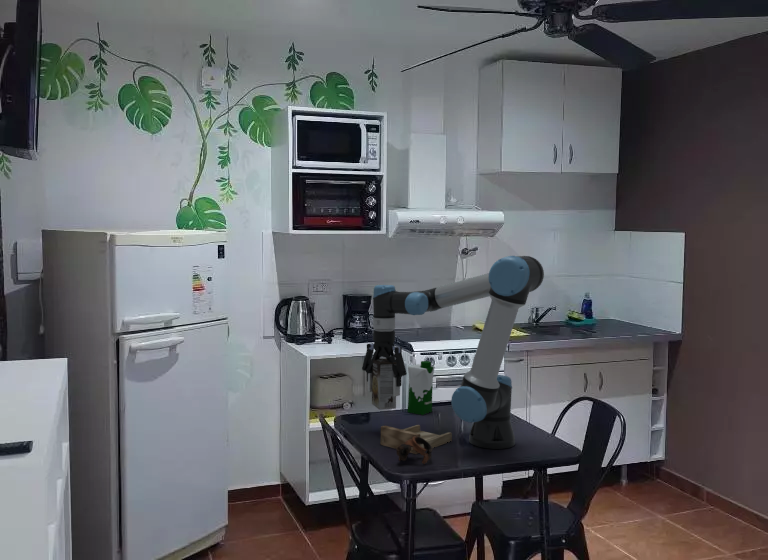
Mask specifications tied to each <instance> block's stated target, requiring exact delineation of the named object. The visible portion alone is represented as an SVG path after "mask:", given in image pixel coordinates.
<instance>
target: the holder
mask: <svg viewBox="0 0 768 560" xmlns="http://www.w3.org/2000/svg"><path fill="white" fill-rule="evenodd" d="M414 436H416V437H420V438H423V439H424V440H426V441H427V442H428V443H429V444H430V445H431V447H432V449H434V447H435V448H438V447H440V446H442V445H445V444H448V443H450V441H451V442H452V441H453V439H452V438H453V437H452V436H453V433H452V432H450V431H447V432H445V433H442V434H437V433H433V432H429V431H428V432H427V431H424V430H421V425H420V424H416V425H413V426H412V425H411V426H409V427H406V428H403V429H401V428H397V427H392V426H390V425H389V426H388V425H382V426H380V443H379V444H380V446H384V447H388V448H391V449H395V450H397V447H398V446H399V445H401V444H404V443H405V442H406V441H407V440H410V439H412V438H413V437H414ZM447 442H448V443H447ZM418 445H420V446H421V447H422V448H424V445H423V444H418ZM409 454H413V455H418V454H419V453H418V452H416V451H415V450H413V447H411V451H410V453H409Z"/></svg>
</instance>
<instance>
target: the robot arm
mask: <svg viewBox="0 0 768 560" xmlns="http://www.w3.org/2000/svg"><path fill="white" fill-rule="evenodd" d="M544 271H545V270H544V268H543V265H542V264H541V262H540V261H539V260H538V259H536V258H535V257H532V256H530V255H517V256H515V255H507V256H504V257H501V258H499V259H498V260H496V261H495V262H494V263H493V264H492V266H491V267H490V269H489V272H488V273H484V274H481V275H477V276H472V277H471V278H467V279H466V278H465V279H463V280H459V281H455V282H453V283H452V282H451V283H447V284H444V285H440V286H437V287H433V288H429V289H425V290H416V291H415V290H414V291H398V290H397V291H396V287H395V285H393V284H377V285H375V286H374V287H373V294H372V295H373V296H372V302H373V304H372V305H373V318H372V319H373V320H372V325H373V326H372V327H373V329H374V330H373V331H372V339H373V343H367V344H366V351H365V356H364V359H363V364H362V367H361V370H362V371H365V373H366V382H367V387H368V388H367V392H368V393H372V365H373V360H376V359H379V358H384V359H385V358H386V359H387V360H388V361H389V362H391V363H392V370H393V372H394V374H395V377H393V396H394V397H395V396H396V397H399V396H401V387H402V383H403V382H402V377H404V376H407V368H406V365H405V362H404V361H405V360H404V358H403V354H402V352H403V351H402V350H403V347H402V346H396V345H395V344H394V343H395V340H396V331H395V329H396V315H397V314H400V315H411V316H422V315H425V313H426V312H431V313H432V312H436V311H438V310H441V309H444V308H448V307H451V306H456V305H459V304H464V303H467V302H472V301H476V300H480V299H484V298H487V297H488V298H489V297H490V299H491V302H490V305H489V308H488V313H487V315H486V318H485V322H484V325H483V328H482V331H481V334H480V338H479V341H478V345H477V348H476V351H475V355H474V357H473V361H472V364H471V368H470V370H469V371H467V372H465V373H464V375H463V378H462V380H461V384H460V386H459V387H457V388H456V389H455V390H454V391H453V393H452V395H451V400H450V401H451V402H450V403H451V408H452V410H453V412H454V414H455V415H456V416H457V417H458V419H460V420H462V421H463V422H466V423H471V424H472V423H473V424H472V426H471V429H470V432H469V439H468V441H469V444H471V445H473V446H476V447H478V448H484V449H491V450H502V449H510V448H512V447H514V446H515V443H516V436H515V433H514V430H513V426H512V422H511V413H512V412H511V411H512V408H511V407H512V392H513V391H512V389H513V386H512V382H513V381H512V378H511V377H509V376H508V375H502V374H499V372H500V369H501V367H502V364H503V363H502V362H503V359H504V358H505V357H504V356H505V354H506V351H507V347H508V344H509V340H510V337H511V335H512V332H513V331H512V330H513V328H514V326H515V325H514V324H515V322H516V318H517V315H518V312H519V309H520V308H521V307H523V306H525V305H526V303H527V300H528V297H529V293H532V292H533V291H536V290H537V289H539V287H540V286H541V285H542V283H543V281H544V279H545V278H544V277H545V272H544ZM394 362H396V365H394V364H393V363H394Z"/></svg>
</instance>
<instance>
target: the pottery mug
mask: <svg viewBox="0 0 768 560" xmlns="http://www.w3.org/2000/svg"><path fill="white" fill-rule="evenodd" d="M418 444H423V445H424V448H422V447H421V446H420V445H418ZM411 447H413V450H415V451H416V452H418V454H420V455H421V456H423V459H422V460H421V464H423V465H426V464H427V463H428V461H430V459H431V458H432V452H433V449H434V448H432V447H431V445H430V444H429V443H428V442H427V441H426V440H424V439H423V438H420V437H416V436H414V437H413V438H412V439H410V440H407V441H406V442H405V443H404V444H401V445H399V446H398V447H397V449H395V451H396V455H397V456H398V460H399V462H401V461H403V462H405V461H407V458H408V456H409V454H411V453H410V451H411ZM425 463H426V464H425Z"/></svg>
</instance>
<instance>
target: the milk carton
mask: <svg viewBox="0 0 768 560" xmlns="http://www.w3.org/2000/svg"><path fill="white" fill-rule="evenodd" d="M435 369H436V367H435V366H432V362H431V361H429V360H421V361H420V364H419V363H416V364H414V365H409V366H407V371H408V392H407V393H408V395H407V397H408V399H407V413H410V414H416V415H420V414H421V415H420V416H424V414H425V415H427V414H429V412H430V413H432V412H433V382H434V373H435ZM426 413H427V414H426Z"/></svg>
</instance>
